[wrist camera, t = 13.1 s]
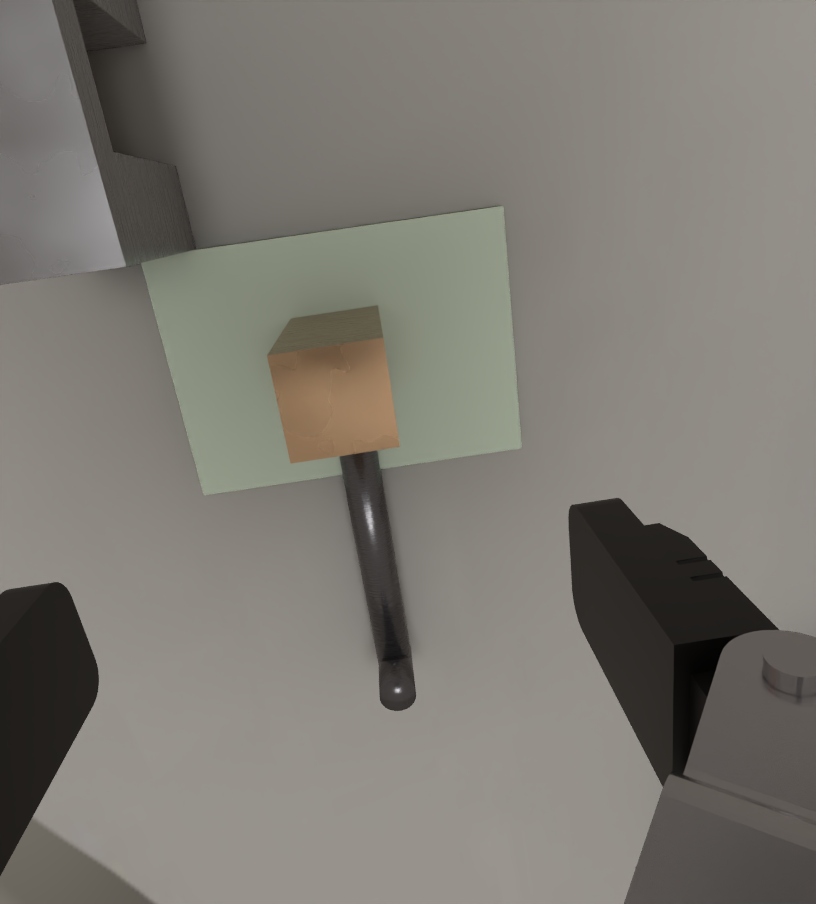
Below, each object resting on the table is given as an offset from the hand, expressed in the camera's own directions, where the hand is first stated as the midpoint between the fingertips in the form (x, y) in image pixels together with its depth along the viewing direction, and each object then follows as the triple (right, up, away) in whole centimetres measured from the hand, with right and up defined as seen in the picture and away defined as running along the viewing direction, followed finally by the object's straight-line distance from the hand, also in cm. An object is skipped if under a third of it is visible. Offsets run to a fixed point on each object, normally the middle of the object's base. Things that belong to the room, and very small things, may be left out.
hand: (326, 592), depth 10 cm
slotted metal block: (-10, +14, +13) cm, 22 cm away
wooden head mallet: (0, 0, +19) cm, 19 cm away
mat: (-1, +6, +17) cm, 18 cm away
